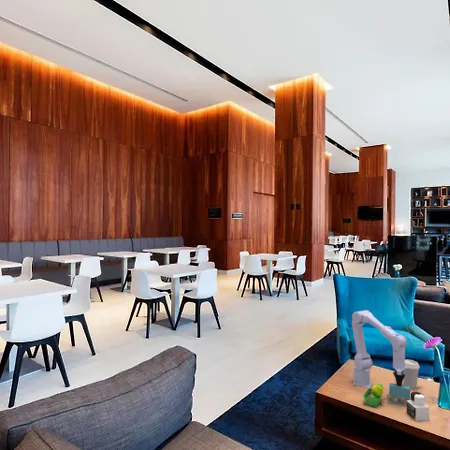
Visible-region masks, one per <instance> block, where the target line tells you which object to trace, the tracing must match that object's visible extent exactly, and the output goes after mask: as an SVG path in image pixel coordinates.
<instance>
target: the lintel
mask: <svg viewBox="0 0 450 450" xmlns="http://www.w3.org/2000/svg"><path fill="white" fill-rule="evenodd" d="M388 388H389V391H388V395H392V396H397V397H402V398H407V399H411V389H410V386H404V384H402V386H401V387H400V386H397V384H396V383H394V382H393V383H392V382H389V383H388Z"/></svg>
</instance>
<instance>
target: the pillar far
mask: <svg viewBox="0 0 450 450" xmlns="http://www.w3.org/2000/svg"><path fill="white" fill-rule="evenodd" d="M410 399H411V398H410ZM410 399H407V398H402V397H401V403H404V404H407V400H410Z"/></svg>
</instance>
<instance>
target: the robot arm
mask: <svg viewBox="0 0 450 450" xmlns="http://www.w3.org/2000/svg"><path fill="white" fill-rule="evenodd" d="M351 318H352V319H351V320H352V321H351V326H352V332H353V337H354V343H355V349H356V354H355V356H354V363H353V364H354V367H353V372H352V376H353V378H352V380H353V381H352V383H353V386H359V387H364V388H367V389H368V388H370V389H371V385H372V382H371V370H372V369H371V368H372V367H373V360H372V359H371V355H370V354H369V353H368V352H367V347H366V343H365V341H366V340H365V336H364V331H363V325H364V324H365V323H366V324H367V323H369V324H371V325H372V326H373V327H374V328H377V330H379V331H380V334H381V335H382V336H384V337H385V338H386V339H387V340H388V341H389V342H390V344H391V345H392V368H393V369H394V371H392V375H393V376H394V379H395V384H397V386H400V387H401V386H402V385H403V383H404V381H403V379H404V377H405V374H403V371H404V370H405V369H407V367H406V366H405V360H406V345H407V344H408V339H407V338H406V336H405V335H403V334H400V333H398V332H396V331H394V330H393V329H392V327H391V326H388V325H384V324H383V323H381V322H380V321H379V320H378V319H377V318H376V317H375V316H374V315H373V313H372V312H370V311H369V310H367V309H364V310H358V311H354V312H353V314H351Z"/></svg>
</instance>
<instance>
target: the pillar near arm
mask: <svg viewBox="0 0 450 450" xmlns="http://www.w3.org/2000/svg"><path fill="white" fill-rule="evenodd" d="M388 395H389V394H388ZM389 401H394V402H397V396H392V395H389Z"/></svg>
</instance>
